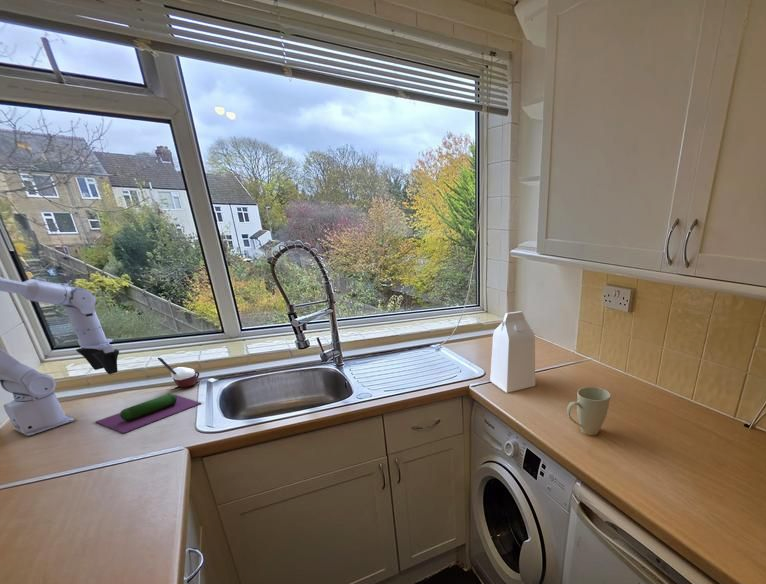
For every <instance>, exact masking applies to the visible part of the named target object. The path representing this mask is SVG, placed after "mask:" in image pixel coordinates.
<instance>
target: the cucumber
mask: <svg viewBox="0 0 766 584" xmlns="http://www.w3.org/2000/svg"><path fill="white" fill-rule="evenodd" d="M175 395H176V394H174V395H173V393H167V394H164V395H161V396H159V397H155V398H153V399H150V400H146V401H144V402H140V403H137V404H135V405H132V406H130V407H126V408H123V409H122V410H120V412H119V413H120V417H121V418H122V419H123V420H133V419H136V418H138V417H141V416H144V415H146V414H149V413H152V412H155V411H157V410H160V409H163V408H165V407H168V406H171V405H173V404H175V403H176V402H177V398H176V396H175Z"/></svg>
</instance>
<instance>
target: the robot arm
mask: <svg viewBox="0 0 766 584" xmlns="http://www.w3.org/2000/svg"><path fill="white" fill-rule="evenodd" d="M0 292H6V293H13V294H19V295H21V296H22V297H23V298H25V299H26V300H27V301H31V302H37V303H42V304H50V305H55V306H60V307H63V308H64V309H65V311H66V313H67V316H68V319H69V320H70V322H71V325H72V327H73V329H74V332H75V335H76V337H77V340H76V341H77V343H78V345H79V347H80V348H76V349H75V351H76V352H77V353H78V354H80V355H81V356H82V357H83V358H84V359H85V360H86V361H87V362H88V363H89V365H90V366H91V368H92V369H93V370H94V371H98V370H101V369H103V370H104V371H105V372H106V373H107V375H113V374H116V373H118V356H119V354H120V351H119V349H116V348H115V349H114V347H113V345H112V344H110V343H113V339H112V338H107V337H106V335H105V334H106V333H105V332H104V330H103V328H102V324H101V322H100V319H99V317H98V314H97V312H96V308H95V304H96V301H97V298H96V296H95V295H93V293H92V292H91V291H89V290H88V289H86V288H84V287H75V286H69V284H68V283H64V282H63V283H62V282H61V283H55V282H51V281H47V279H46V278H42V277H41V278H40V277H35V278H30V279H26V280H24V281H19V280H14V279H9V278H6V277H5V278H4V277H0ZM0 386H1V388H2V389H3V390H4V391H6V392H7V393H11V394H12V395H13V396H12V397H13V400H12V401H9V402H6V403H4V404H3V408H4V411H5V413H6V415H7V416H8V418H9V420H10V422H11V424H12V425H13V428H14V430H15V431H17V432H19V433H21V434H23V435H25V436H27V437H29V436H34V435H36V434H39V433H43V432H45V431H48V430H51V429H54V428H57V427H60V426H63V425H66V424H69V423H72V422H74V421H75V419H74V418H73V417H70V416H68V415H66V414H65V412H64V409H63V407H62V405H61V403H60V401H59V399H58V397H57V395H56V393H55V390H56V388H57V383H56V380H55V379H54V377H53V376H52V375H49V374H47V373H42V372H39V371H38V370H36V369H35V368H34V367H31V366H29V365H26V364H25V363H22V362H20V361H19V360H17V358H15V357H13V356H12V355H10V354H9V353H7V352H6V351H5V350H4V349H2V348H1V347H0Z"/></svg>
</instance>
